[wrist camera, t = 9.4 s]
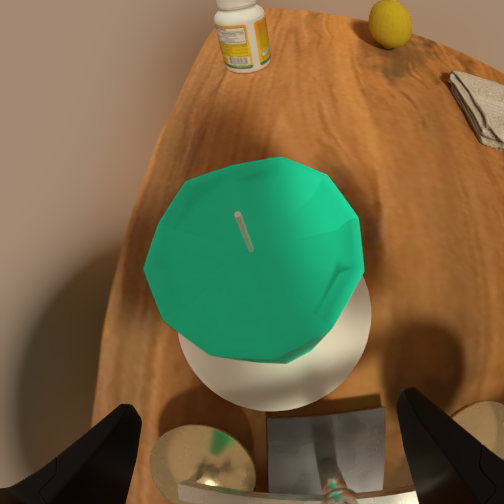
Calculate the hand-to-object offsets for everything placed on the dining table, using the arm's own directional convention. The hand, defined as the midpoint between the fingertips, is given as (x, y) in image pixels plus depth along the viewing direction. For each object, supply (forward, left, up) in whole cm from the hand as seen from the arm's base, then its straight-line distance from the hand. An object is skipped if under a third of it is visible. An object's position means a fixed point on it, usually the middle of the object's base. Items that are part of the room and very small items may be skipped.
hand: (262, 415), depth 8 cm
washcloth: (+23, -31, -10) cm, 40 cm away
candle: (+5, 0, -8) cm, 9 cm away
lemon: (+36, -17, -9) cm, 41 cm away
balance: (-5, -3, -9) cm, 11 cm away
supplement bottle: (+33, +1, -9) cm, 34 cm away
